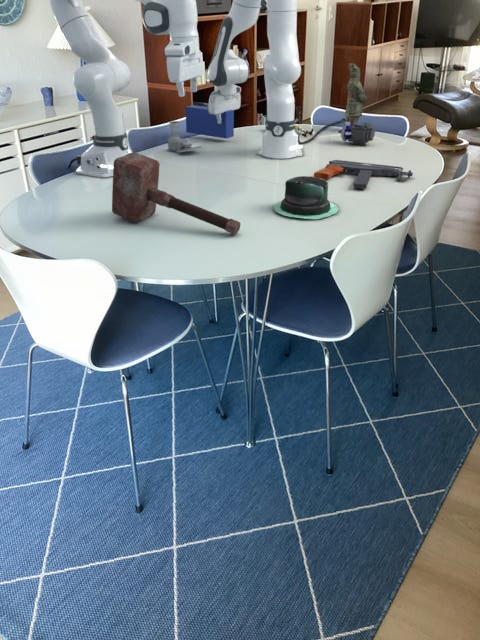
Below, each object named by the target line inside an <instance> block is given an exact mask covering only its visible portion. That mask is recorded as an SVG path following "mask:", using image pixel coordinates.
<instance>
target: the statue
mask: <svg viewBox="0 0 480 640" xmlns="http://www.w3.org/2000/svg"><path fill="white" fill-rule="evenodd" d="M348 70H349V73H350V75H349V76H350V78H349V81H348V82H347V85H346V90H347V98H346V99H347V100H346V101H347V102H346V106H345V112H344V115H345V120H346V121H345V123H346V122H350V124H352V127H354V125H355V124H357V125H359V124H358V123H359V121H360V118H361V117H362V116H363V108H364V104H365V103H367V102H368V96H367V95H366V94H365V91H364V86H363V84H362V82H361V68H360V67H359V66H358V65H357V64H356V63H351V62H350V63H348Z"/></svg>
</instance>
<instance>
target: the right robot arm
mask: <svg viewBox="0 0 480 640" xmlns="http://www.w3.org/2000/svg"><path fill="white" fill-rule="evenodd" d="M261 4H262V0H232V3H231V7H230V9H229V12H228V14H227V16H226V17H225V18H224V19H223V20H222V21H221V25H220V28H219V32H218V36H217V39H216V43H215V46H214V50H213V53H212V54H213V55H212V57H211V59H210V62H209V65H208V67H207V78H208V80H209V81H210V82H211V83H212V85H213V86H214V91H212V92H211V93H210V95H209V99H208V107H209V113H210V114H214V115H216V117H217V120H218V124H221V123H223V122H222V121H223V119H221V113H224V112H225V111H230V110H234V111H237V110H239V109H240V108H241V103H242V101H241V100H242V95H241V92H242V87H240V86H238V85H236V84H243V83H245V82H247V81H248V79H249V76H250V65H249V63H248V62H247V61H246V59H243V58H241V57H239V56H238V55H236V54H235V52H234V50H233V49H231V48H230V47H231V43H232V41H233V40H234V38H236V36H238V35H239V34H241V33H243V32H245V31H247V30H249V29H251V28H252V27H253V26H254V25H255V24H256V23H257V21H258V20H259V16H260V12H261ZM266 9H267V10H266V12H267V13H266V18H267V19H266V22H267V23H266V36H267V40H268V45H269V53H268V54H267V55H266V56H265V58H264V60H263V63H262V69H263V76H264V87H265V93H266V120H265V131H264V132H263V133H262V135H261V149H260V150H258V151H257V155H259V156H263V157H265V158H269V159H279V160H281V159H282V160H283V159H293V158H295V157H296V158H297V157H302V156H303V150H302V148H303V145H305V144H307V143H309V142H311V141H313V140H315V138H316V137H317V136H318V135H319V134H320V133H321V132H323V130H325V129H327V128H329V127H331V126H334V125H337V124H340V123H342V122H343V121H344V122H346V117H342V118H341V119H340V120H338V121H334V122H331V123H329V124H326V125H325V126H322V128H320V129H319V130H318V131H316V133H315V134H314V135H312V137H311V138H308V139H307V140H305V141H301V140H300V135H299V134H297V133H296V132H295V126H296V122H295V120H296V118H295V103H296V99H295V96H294V95H295V94H294V90H293V84H294V83H296V82H297V81H298V79H299V78H300V77H301V74H302V65H301V63H300V53H299V45H298V35H297V34H298V33H297V32H298V31H297V28H298V27H297V25H298V0H267V7H266Z"/></svg>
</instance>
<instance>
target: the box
mask: <svg viewBox="0 0 480 640" xmlns="http://www.w3.org/2000/svg"><path fill="white" fill-rule="evenodd" d="M221 119H223V121H222V122H223V123H221V124H218V120H217V117H216V115H214V114H210V113H209V106H202V105H196V104H193V105H188V106H185V130H186V131H185V132H186V133H188V134H194V135H201V136H206V137H207V136H208V137H214V138H218V139H219V138H220V139H225V140H226V139H230V138H233V137H234V136H235V135H234V134H235V131H234V129H235V128H234V127H235V110H230V111H225V112H224V113H221Z"/></svg>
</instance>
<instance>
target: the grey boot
mask: <svg viewBox="0 0 480 640" xmlns="http://www.w3.org/2000/svg"><path fill="white" fill-rule="evenodd" d="M180 128H181V126H180V121H178V120H173V121H172V120H171V121H169V129H170V137H167V146H168V148H167V149H168V151H171V152H174V153H175V152H176V154H181V153H187V152H190V151H194V150H197V149H201V148H203V147H202V145H199V146H194V147H193V146H192V143H190V142H188V139H186V138H182V137H180V136H181V135H180Z"/></svg>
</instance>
